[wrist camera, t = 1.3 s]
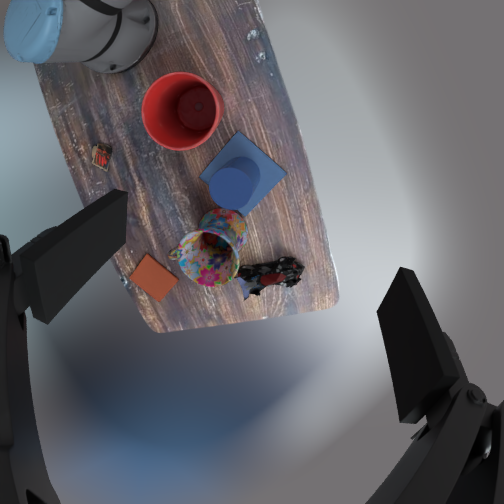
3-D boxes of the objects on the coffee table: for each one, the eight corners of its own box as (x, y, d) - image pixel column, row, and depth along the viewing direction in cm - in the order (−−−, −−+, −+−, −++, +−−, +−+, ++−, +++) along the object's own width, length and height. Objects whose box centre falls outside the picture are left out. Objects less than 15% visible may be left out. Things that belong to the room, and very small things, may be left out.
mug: (246, 201, 52) (232, 226, 42) (255, 252, 56) (244, 285, 46) (178, 209, 54) (153, 234, 45) (191, 256, 58) (170, 288, 49)
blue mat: (238, 130, 47) (237, 130, 46) (286, 173, 49) (286, 173, 48) (199, 176, 51) (198, 177, 51) (245, 215, 53) (245, 216, 53)
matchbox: (113, 144, 50) (111, 145, 50) (111, 172, 53) (110, 172, 52) (92, 142, 50) (91, 142, 50) (92, 168, 53) (90, 169, 52)
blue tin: (239, 148, 47) (227, 158, 40) (268, 174, 49) (261, 188, 42) (215, 176, 50) (200, 190, 43) (243, 200, 51) (233, 218, 44)
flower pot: (204, 61, 42) (181, 54, 33) (248, 112, 45) (235, 116, 36) (156, 105, 46) (126, 109, 38) (197, 154, 49) (175, 167, 41)
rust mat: (147, 253, 59) (146, 254, 59) (179, 279, 61) (178, 280, 61) (130, 277, 63) (129, 278, 63) (159, 301, 65) (158, 302, 64)
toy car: (235, 264, 58) (230, 276, 54) (300, 250, 54) (300, 262, 51) (245, 291, 60) (241, 304, 56) (308, 280, 57) (308, 293, 53)
